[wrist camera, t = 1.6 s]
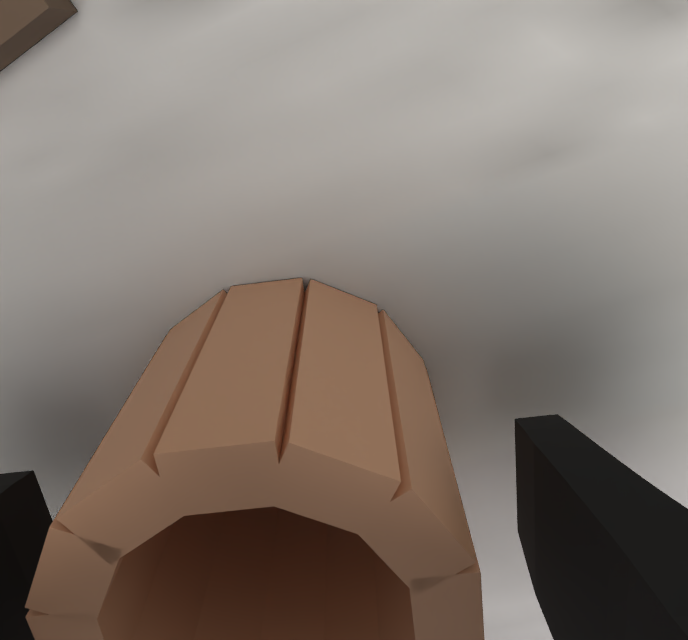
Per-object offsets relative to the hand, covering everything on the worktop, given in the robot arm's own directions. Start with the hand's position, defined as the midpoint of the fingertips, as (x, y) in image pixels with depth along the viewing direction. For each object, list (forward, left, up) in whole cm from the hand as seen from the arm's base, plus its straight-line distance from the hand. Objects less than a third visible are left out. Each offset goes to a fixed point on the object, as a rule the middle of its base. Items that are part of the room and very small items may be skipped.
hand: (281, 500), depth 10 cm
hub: (0, 0, -3) cm, 3 cm away
